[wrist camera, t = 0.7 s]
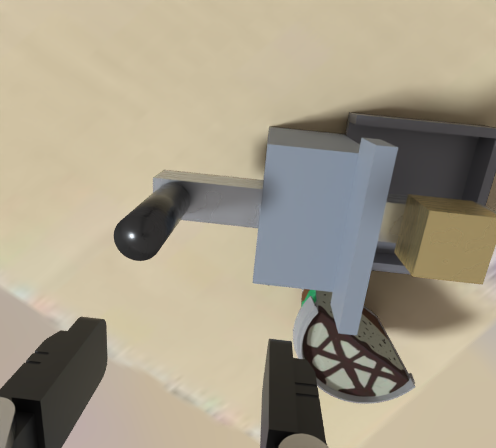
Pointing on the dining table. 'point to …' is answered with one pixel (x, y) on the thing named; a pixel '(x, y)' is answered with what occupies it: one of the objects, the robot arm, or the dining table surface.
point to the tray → (430, 163)
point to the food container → (348, 353)
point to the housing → (323, 215)
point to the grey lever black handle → (211, 210)
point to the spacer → (446, 239)
